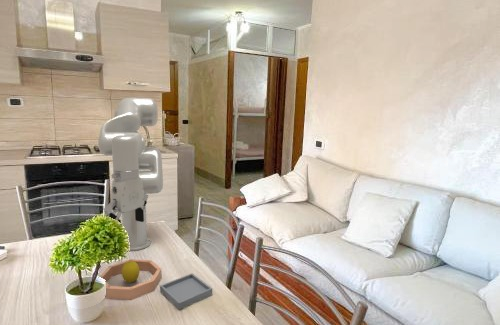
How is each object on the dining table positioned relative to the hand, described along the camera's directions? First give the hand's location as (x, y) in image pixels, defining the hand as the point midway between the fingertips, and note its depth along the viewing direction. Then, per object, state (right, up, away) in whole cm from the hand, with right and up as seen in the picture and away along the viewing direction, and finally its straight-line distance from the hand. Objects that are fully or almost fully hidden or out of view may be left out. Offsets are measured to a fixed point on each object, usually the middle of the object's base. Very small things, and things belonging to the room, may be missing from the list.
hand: (128, 225), depth 106 cm
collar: (-1, -20, +4) cm, 20 cm away
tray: (+19, -22, -1) cm, 29 cm away
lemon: (-1, -20, +4) cm, 21 cm away
